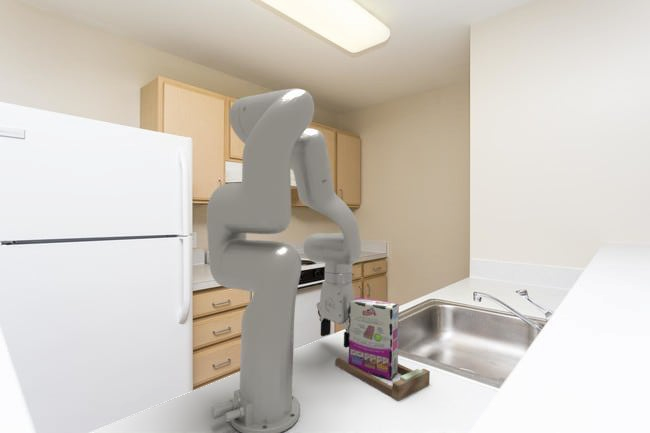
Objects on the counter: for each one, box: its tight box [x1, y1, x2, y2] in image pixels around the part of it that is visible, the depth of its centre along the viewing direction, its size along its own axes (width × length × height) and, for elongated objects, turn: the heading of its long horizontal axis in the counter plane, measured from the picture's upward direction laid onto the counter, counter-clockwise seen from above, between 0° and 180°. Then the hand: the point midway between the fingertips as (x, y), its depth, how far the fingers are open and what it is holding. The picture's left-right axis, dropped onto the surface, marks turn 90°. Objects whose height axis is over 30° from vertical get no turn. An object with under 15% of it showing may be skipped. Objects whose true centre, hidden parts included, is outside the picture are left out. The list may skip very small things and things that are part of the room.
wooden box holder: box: [334, 357, 431, 401], centre depth 76 cm, size 11×20×4 cm, turn 39°
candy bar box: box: [348, 297, 400, 380], centre depth 78 cm, size 11×5×16 cm, turn 58°
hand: (336, 340), depth 88 cm, fingers open, 9 cm apart
